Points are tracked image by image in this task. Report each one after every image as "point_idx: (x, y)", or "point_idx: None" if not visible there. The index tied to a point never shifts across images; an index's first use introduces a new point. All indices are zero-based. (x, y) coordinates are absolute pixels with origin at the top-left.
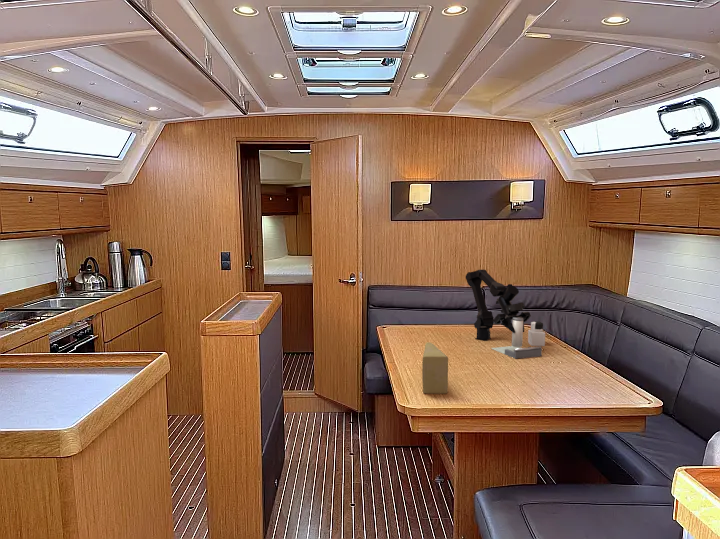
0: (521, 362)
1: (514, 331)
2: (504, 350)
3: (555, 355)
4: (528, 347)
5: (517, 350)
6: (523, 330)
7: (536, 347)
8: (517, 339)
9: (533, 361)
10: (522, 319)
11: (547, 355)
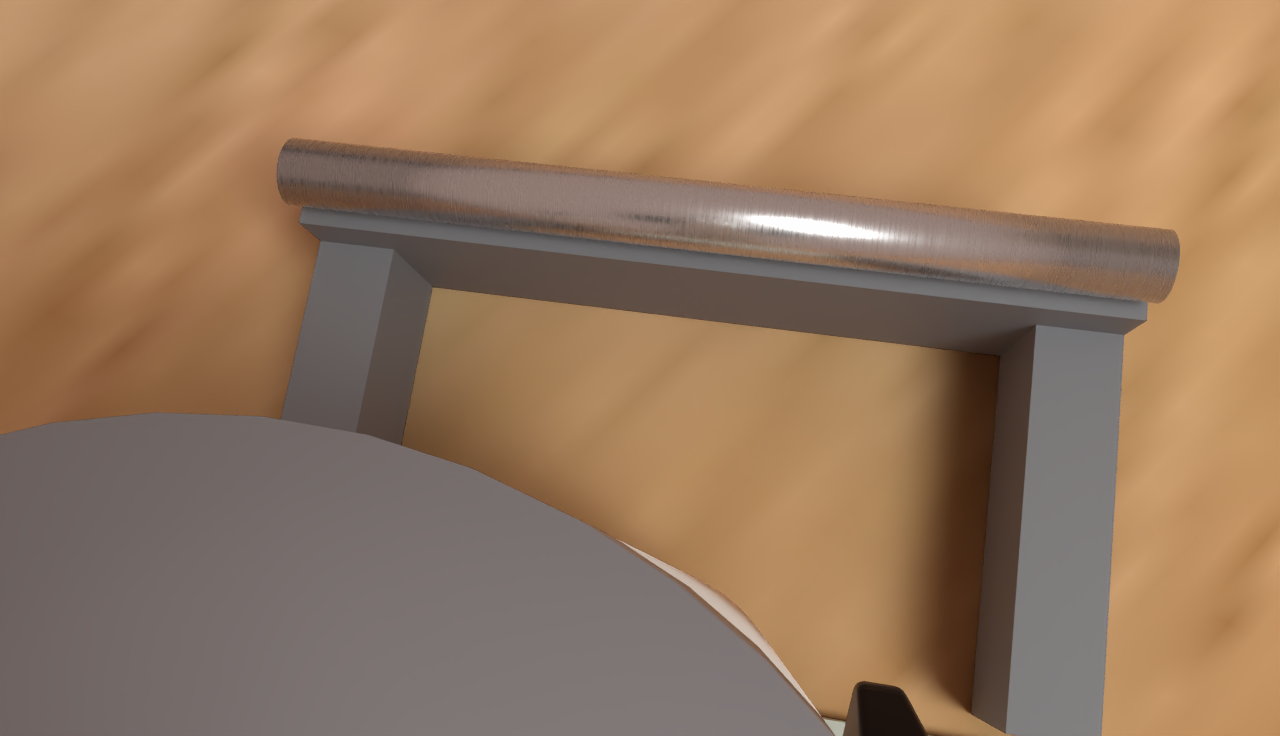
0: (1136, 50)
1: (906, 708)
2: None
3: (90, 139)
4: None
5: (1093, 226)
6: None
7: (448, 154)
8: (736, 607)
9: (840, 7)
10: (71, 460)
11: (225, 207)
